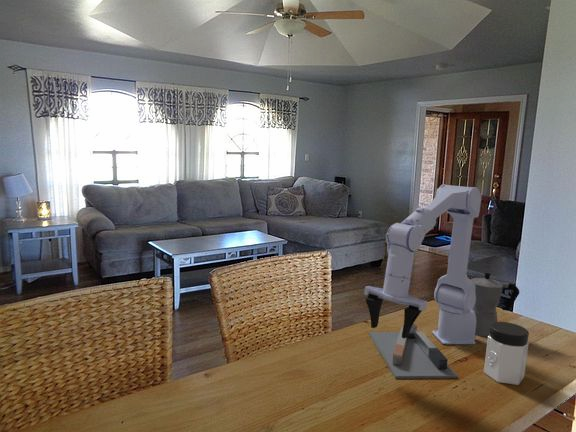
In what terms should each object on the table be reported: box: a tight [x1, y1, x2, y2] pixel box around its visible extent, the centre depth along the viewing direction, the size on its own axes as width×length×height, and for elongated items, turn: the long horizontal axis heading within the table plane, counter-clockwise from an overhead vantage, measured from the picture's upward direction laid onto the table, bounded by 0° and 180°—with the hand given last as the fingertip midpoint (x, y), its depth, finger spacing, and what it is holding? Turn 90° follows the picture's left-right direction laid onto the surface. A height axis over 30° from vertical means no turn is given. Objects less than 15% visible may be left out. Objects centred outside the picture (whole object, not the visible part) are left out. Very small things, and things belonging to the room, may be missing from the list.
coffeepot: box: [469, 272, 520, 338], centre depth 127 cm, size 15×9×18 cm, turn 70°
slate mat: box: [368, 331, 458, 379], centre depth 113 cm, size 24×15×1 cm, turn 4°
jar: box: [483, 321, 530, 386], centre depth 103 cm, size 9×8×12 cm
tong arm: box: [392, 323, 418, 365], centre depth 114 cm, size 20×4×3 cm, turn 159°
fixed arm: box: [414, 330, 448, 369], centre depth 111 cm, size 16×2×2 cm, turn 4°
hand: (389, 332), depth 101 cm, fingers open, 7 cm apart
